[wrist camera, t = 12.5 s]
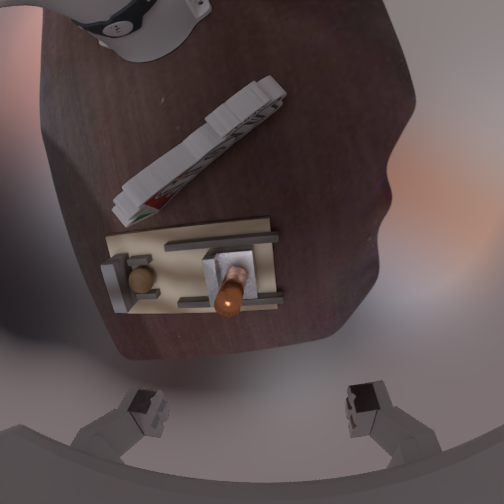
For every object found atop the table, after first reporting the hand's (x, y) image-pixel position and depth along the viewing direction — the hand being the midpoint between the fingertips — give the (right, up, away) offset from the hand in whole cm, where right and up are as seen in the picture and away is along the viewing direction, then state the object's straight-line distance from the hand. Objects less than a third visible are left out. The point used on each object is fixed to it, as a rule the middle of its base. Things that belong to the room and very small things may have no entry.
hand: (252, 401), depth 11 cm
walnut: (-17, +2, +30) cm, 35 cm away
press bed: (-10, +4, +33) cm, 34 cm away
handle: (-3, +4, +30) cm, 31 cm away
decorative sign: (-6, +20, +27) cm, 34 cm away
